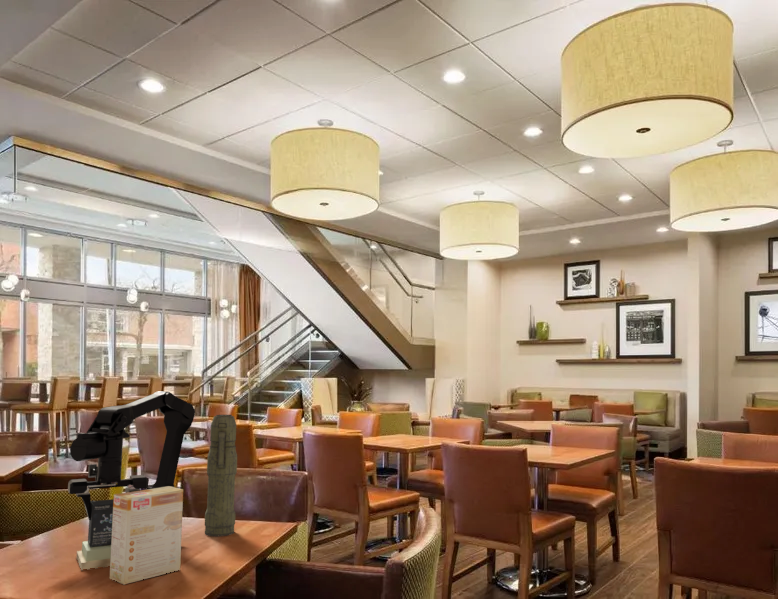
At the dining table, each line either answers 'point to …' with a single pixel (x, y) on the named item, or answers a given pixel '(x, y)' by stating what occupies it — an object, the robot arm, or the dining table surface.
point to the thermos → (221, 477)
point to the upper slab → (96, 552)
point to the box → (100, 523)
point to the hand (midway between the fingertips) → (107, 518)
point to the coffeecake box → (146, 534)
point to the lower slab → (91, 562)
